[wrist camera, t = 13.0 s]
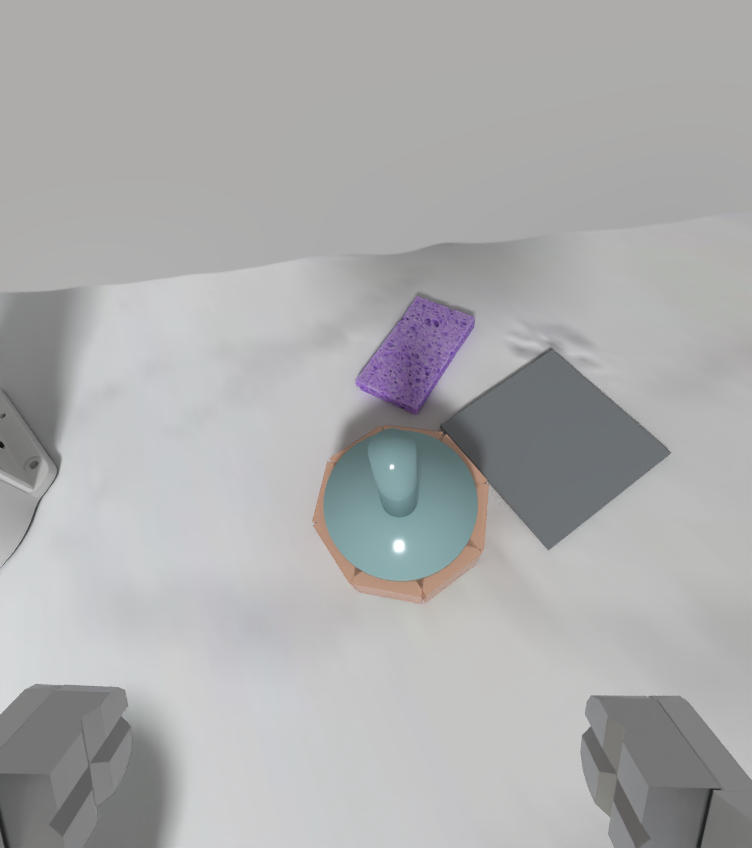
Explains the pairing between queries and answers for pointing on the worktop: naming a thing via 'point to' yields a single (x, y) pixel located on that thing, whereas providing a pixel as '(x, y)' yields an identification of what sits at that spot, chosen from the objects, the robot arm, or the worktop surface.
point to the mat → (553, 446)
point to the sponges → (415, 354)
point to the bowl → (425, 586)
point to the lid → (400, 505)
